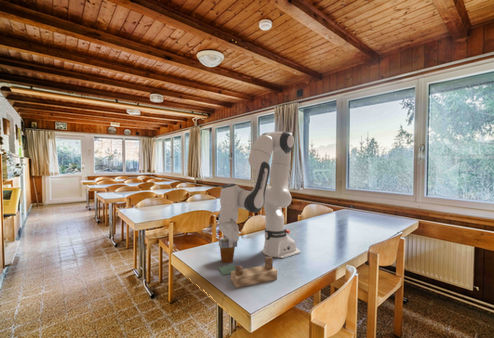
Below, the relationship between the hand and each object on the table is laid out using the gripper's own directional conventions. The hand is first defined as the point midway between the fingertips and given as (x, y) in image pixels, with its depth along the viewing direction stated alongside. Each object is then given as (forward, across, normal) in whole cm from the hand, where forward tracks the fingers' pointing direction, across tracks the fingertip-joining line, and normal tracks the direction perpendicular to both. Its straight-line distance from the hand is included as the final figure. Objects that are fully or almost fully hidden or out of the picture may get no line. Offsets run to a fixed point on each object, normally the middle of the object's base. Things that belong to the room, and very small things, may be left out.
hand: (228, 244), depth 113 cm
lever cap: (+1, 0, 0) cm, 1 cm away
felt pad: (+13, 0, 0) cm, 13 cm away
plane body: (+13, -13, -8) cm, 20 cm away
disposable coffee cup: (+13, +11, -3) cm, 17 cm away
